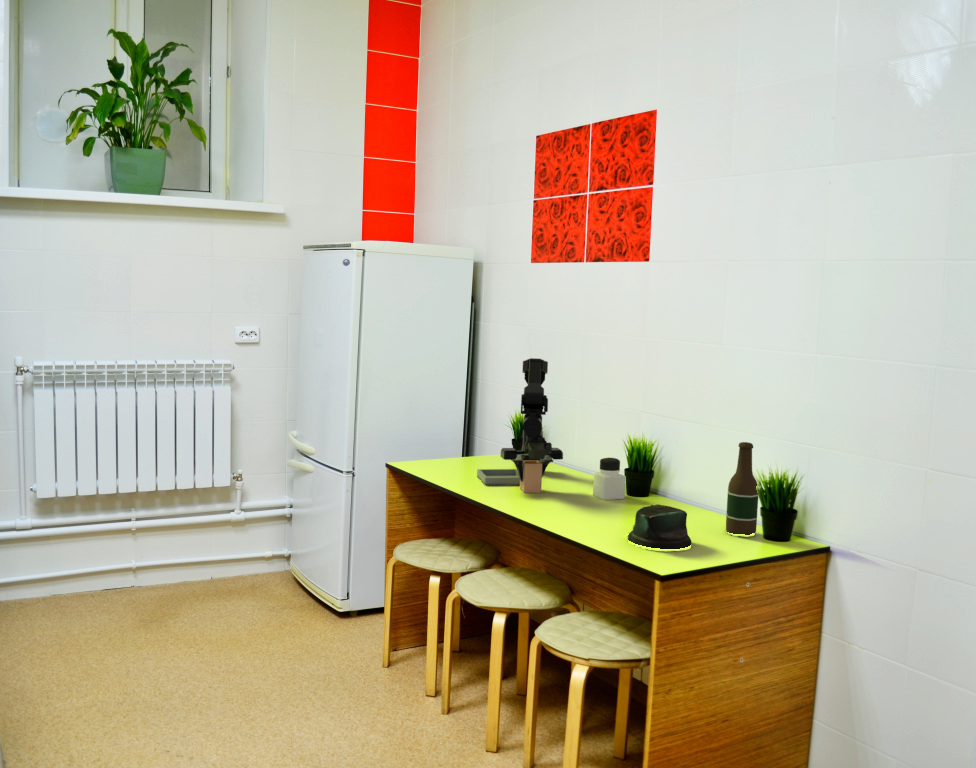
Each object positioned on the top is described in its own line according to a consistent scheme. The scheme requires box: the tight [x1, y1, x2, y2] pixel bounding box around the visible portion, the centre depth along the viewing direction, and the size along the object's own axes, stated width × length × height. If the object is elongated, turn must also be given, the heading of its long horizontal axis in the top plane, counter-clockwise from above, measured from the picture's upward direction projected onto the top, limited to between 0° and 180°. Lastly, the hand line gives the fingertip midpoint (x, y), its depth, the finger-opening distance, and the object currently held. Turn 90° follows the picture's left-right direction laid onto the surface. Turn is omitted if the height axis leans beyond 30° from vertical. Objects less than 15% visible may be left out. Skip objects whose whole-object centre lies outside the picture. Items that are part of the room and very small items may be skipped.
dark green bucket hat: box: [627, 504, 693, 549], centre depth 210 cm, size 20×20×9 cm
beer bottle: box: [725, 441, 759, 535], centre depth 220 cm, size 8×8×24 cm
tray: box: [476, 468, 520, 486], centre depth 278 cm, size 14×14×2 cm
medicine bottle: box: [592, 457, 626, 501], centre depth 259 cm, size 7×7×12 cm
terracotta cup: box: [519, 460, 543, 494], centre depth 264 cm, size 6×6×9 cm
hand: (530, 481), depth 264 cm, fingers closed on terracotta cup, 5 cm apart
